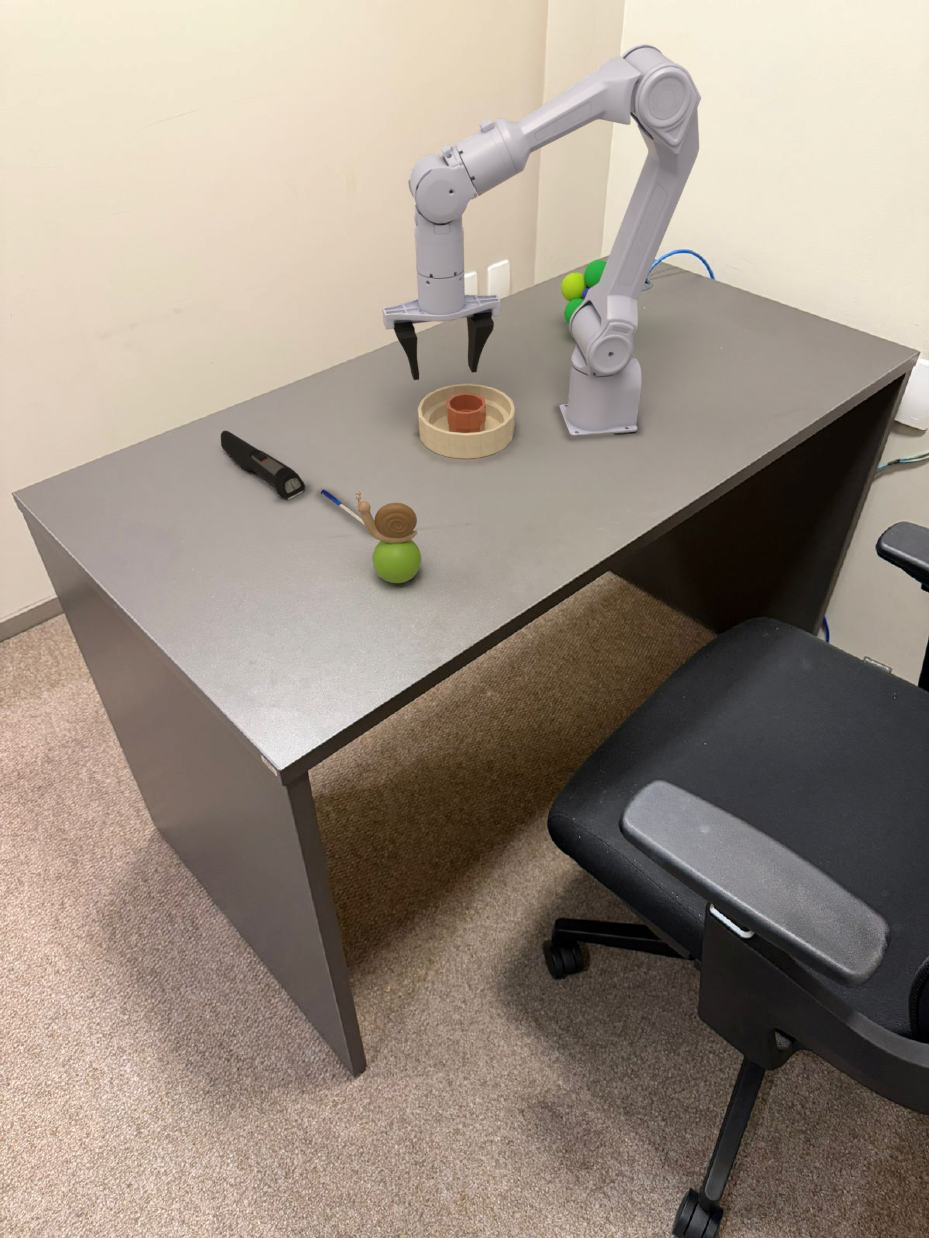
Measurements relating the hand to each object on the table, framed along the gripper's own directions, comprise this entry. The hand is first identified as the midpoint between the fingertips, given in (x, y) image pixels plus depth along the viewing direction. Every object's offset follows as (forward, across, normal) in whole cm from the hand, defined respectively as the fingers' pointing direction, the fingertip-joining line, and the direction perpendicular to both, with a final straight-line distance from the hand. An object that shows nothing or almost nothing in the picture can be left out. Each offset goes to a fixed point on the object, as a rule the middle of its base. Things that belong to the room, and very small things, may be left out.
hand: (443, 372), depth 112 cm
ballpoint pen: (+10, +16, +14) cm, 23 cm away
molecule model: (+10, -29, -23) cm, 38 cm away
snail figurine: (+10, +12, +27) cm, 31 cm away
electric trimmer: (+10, +26, +3) cm, 27 cm away
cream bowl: (+10, -3, +1) cm, 10 cm away
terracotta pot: (+9, -3, +1) cm, 10 cm away
